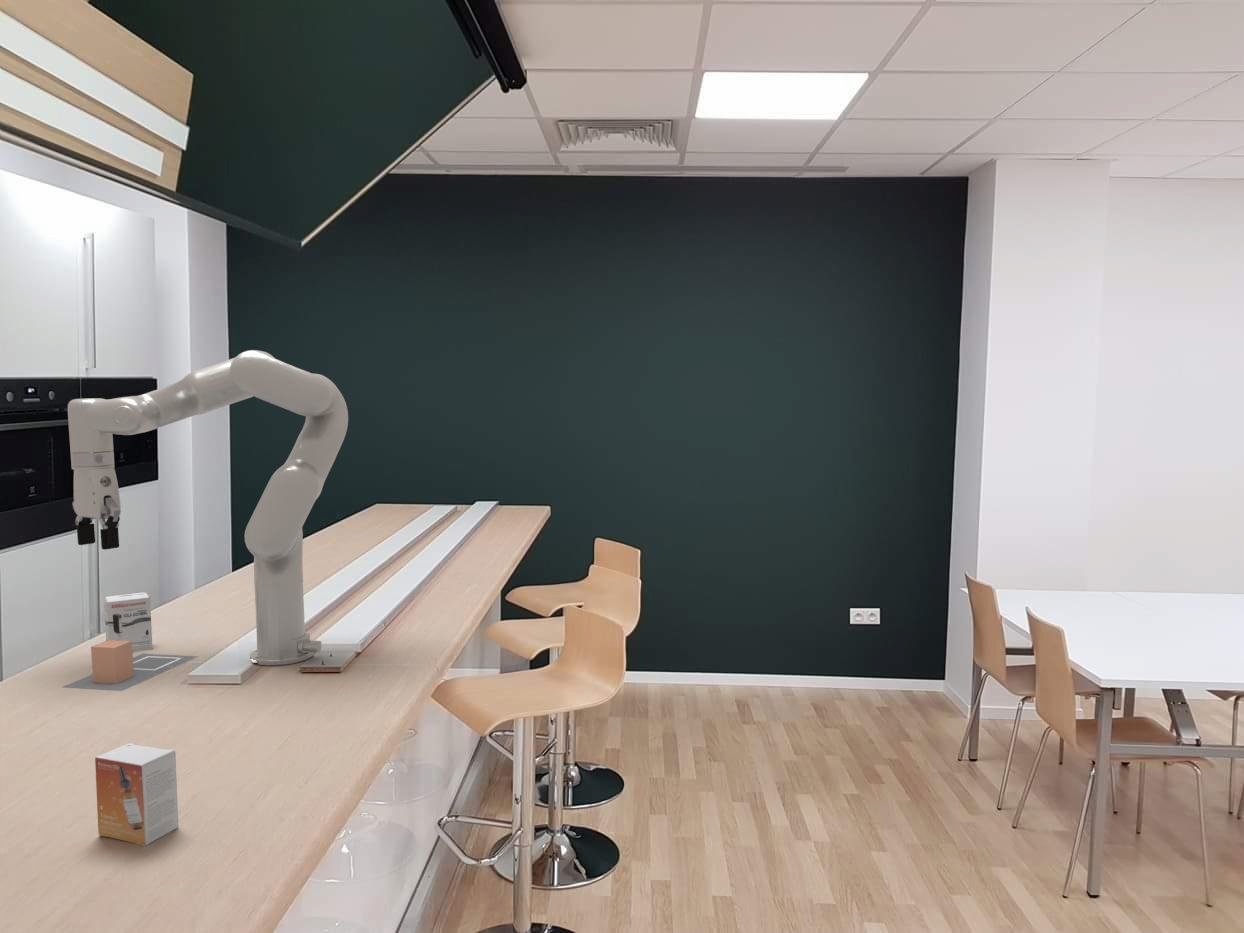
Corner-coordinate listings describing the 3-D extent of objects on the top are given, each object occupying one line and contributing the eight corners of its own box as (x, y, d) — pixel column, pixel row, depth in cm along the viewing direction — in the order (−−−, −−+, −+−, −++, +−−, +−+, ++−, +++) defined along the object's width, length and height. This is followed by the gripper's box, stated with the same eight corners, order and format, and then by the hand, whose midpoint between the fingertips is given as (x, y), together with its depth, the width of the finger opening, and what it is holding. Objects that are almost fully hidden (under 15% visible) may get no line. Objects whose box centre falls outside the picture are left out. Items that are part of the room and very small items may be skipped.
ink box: (109, 656, 209) (106, 600, 208) (106, 650, 213) (103, 596, 212) (153, 649, 214) (150, 595, 212) (150, 644, 218) (147, 591, 217)
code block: (133, 676, 193) (131, 640, 193) (116, 683, 188) (113, 647, 188) (111, 674, 194) (109, 639, 194) (93, 682, 189) (90, 646, 189)
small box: (97, 836, 126) (92, 756, 125) (133, 818, 131) (128, 741, 130) (145, 847, 123) (140, 765, 122) (180, 827, 128) (176, 749, 127)
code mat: (198, 657, 207) (197, 656, 207) (121, 692, 184) (121, 690, 184) (143, 654, 209) (143, 653, 209) (61, 688, 187) (61, 687, 187)
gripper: (133, 461, 194) (139, 547, 195) (91, 457, 204) (96, 539, 206) (94, 464, 188) (100, 553, 189) (52, 460, 198) (58, 545, 200)
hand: (98, 546), depth 197 cm, fingers open, 9 cm apart
